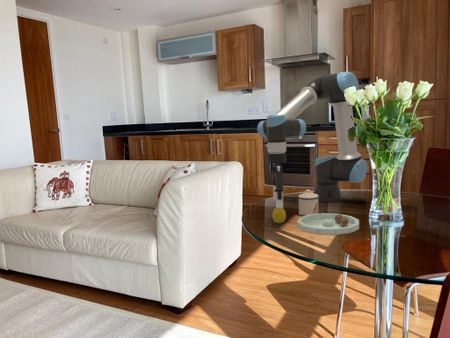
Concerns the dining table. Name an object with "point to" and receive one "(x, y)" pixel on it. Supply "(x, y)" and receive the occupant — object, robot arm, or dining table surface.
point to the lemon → (279, 215)
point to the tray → (326, 224)
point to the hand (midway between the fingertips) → (278, 204)
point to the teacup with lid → (308, 203)
